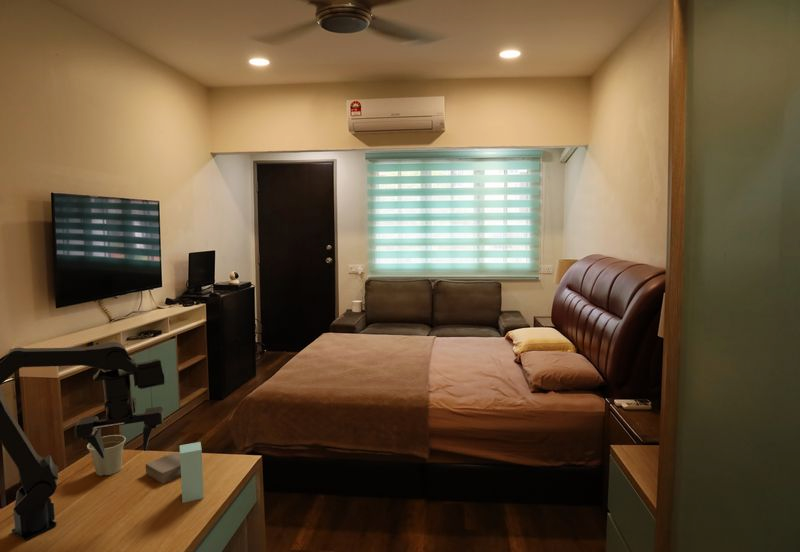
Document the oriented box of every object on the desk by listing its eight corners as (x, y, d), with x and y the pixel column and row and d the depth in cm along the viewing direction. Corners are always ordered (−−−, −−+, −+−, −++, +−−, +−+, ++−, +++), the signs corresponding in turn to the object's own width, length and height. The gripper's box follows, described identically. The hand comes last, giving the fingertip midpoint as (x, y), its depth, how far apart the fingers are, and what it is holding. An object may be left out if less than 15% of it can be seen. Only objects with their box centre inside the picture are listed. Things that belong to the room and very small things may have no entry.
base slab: (162, 483, 132) (162, 473, 131) (146, 473, 137) (145, 463, 137) (193, 470, 139) (193, 460, 139) (176, 461, 144) (176, 451, 144)
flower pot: (109, 481, 133) (108, 450, 132) (80, 477, 135) (78, 447, 134) (135, 464, 142) (133, 436, 141) (107, 461, 144) (105, 433, 143)
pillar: (182, 502, 123) (179, 453, 121) (181, 493, 127) (179, 445, 126) (203, 498, 125) (201, 449, 123) (202, 488, 129) (200, 441, 128)
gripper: (163, 378, 130) (169, 434, 132) (82, 389, 124) (89, 447, 126) (158, 392, 120) (164, 452, 121) (70, 404, 113) (77, 467, 115)
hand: (124, 454), depth 121 cm, fingers open, 9 cm apart
